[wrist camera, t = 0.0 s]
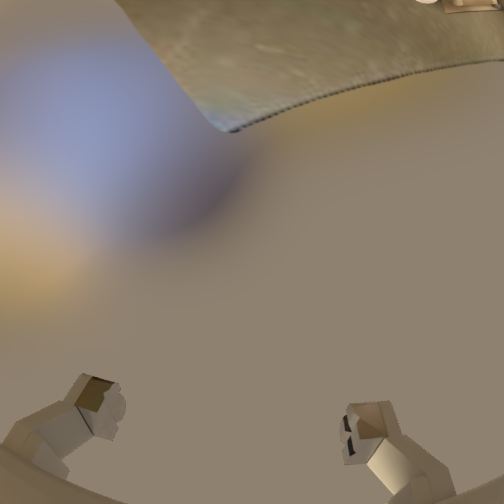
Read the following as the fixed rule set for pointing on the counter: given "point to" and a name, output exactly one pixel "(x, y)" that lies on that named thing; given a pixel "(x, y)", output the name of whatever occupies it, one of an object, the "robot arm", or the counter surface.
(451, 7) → the holder
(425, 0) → the smoothie
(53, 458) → the robot arm
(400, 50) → the counter surface
